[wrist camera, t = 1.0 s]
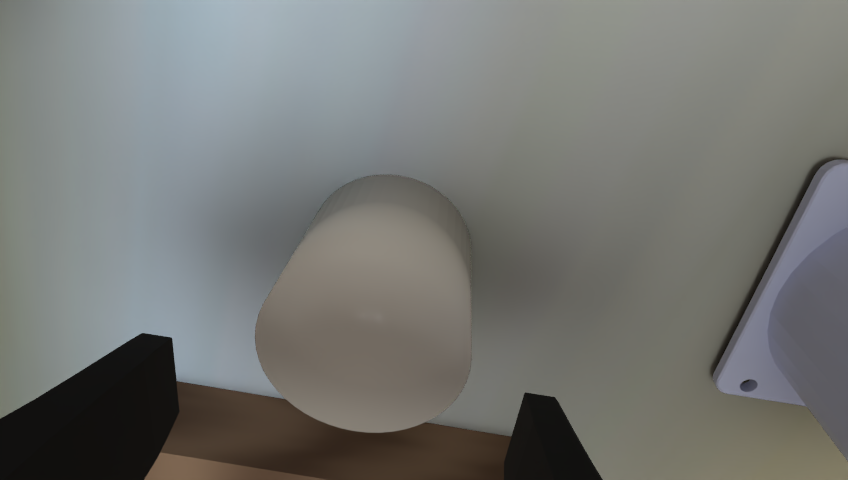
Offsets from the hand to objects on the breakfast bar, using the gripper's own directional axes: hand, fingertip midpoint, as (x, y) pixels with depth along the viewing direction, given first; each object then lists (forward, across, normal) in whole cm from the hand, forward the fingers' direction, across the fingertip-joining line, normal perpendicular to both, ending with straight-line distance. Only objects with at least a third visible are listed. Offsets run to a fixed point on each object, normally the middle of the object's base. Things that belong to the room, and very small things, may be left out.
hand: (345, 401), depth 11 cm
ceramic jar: (+6, 0, 0) cm, 7 cm away
